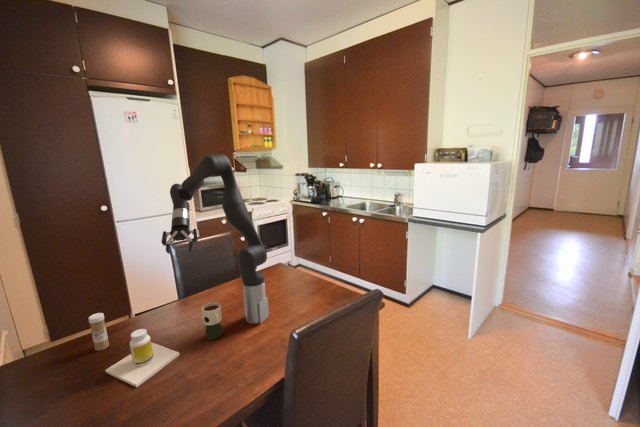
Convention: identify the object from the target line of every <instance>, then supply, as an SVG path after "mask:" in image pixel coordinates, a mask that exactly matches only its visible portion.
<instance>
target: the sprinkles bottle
mask: <svg viewBox="0 0 640 427" xmlns="http://www.w3.org/2000/svg"><path fill="white" fill-rule="evenodd" d="M88 323H89V324H90V325H89V326H90V330H91V337H92V341H93V345H94V350H95V351H103V350H105V349H107V348H108V347H109V346H110V342H109V338H108V332H107V327H106V322H105V315H104V313H103V312H97V313H94V314H91V315H90V316H88Z"/></svg>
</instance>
